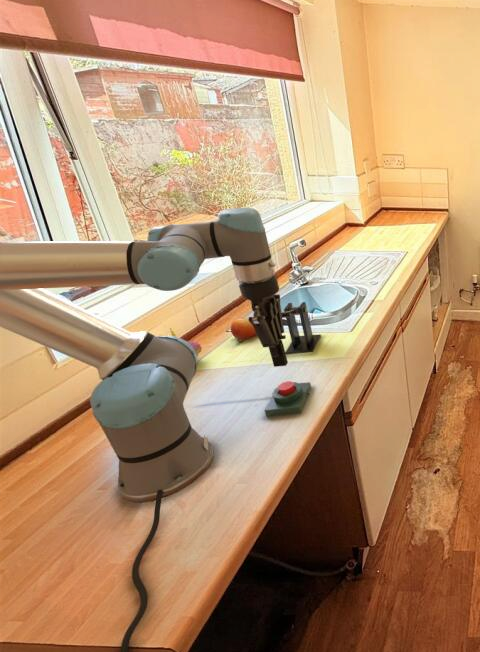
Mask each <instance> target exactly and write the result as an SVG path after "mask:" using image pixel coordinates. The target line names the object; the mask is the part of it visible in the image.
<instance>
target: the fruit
mask: <svg viewBox="0 0 480 652" xmlns="http://www.w3.org/2000/svg"><path fill="white" fill-rule="evenodd" d="M230 333H231V334H232V336H233V337H234V338H235V339H237V340H238V341H240V342H239V343H240V344H242V343H243V341H246V340H250V339H252V338H254V337H255V336H257V333H256V331H255V329H254V327H253V325H252V324H251V323H250V322H249V317H240V318H238V319H235V320H233V321H232V322H231V325H230Z"/></svg>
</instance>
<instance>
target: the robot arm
mask: <svg viewBox="0 0 480 652" xmlns="http://www.w3.org/2000/svg"><path fill="white" fill-rule="evenodd" d="M217 218H218V219H217V220H215V221H206V222H194V223H193V222H192V223H182V224H180V223H179V224H172V223H171V224H167V225H162V226H155V227H152V228H150V230H149V231H148V233H147V235H148V236H147V238H146V240H147V241H146V240H143V241H142V240H140V241H132V240H126V241H125V240H123V241H122V240H120V241H119V240H112V241H111V240H110V241H109V240H108V241H107V240H103V241H102V240H101V241H100V240H97V241H95V240H93V241H91V240H90V241H85V240H83V241H77V240H76V241H0V328H2V329H4V330H6V331H9V332H11V333H14V334H15V335H18V336H20V337H23V338H25V339H27V340H30V341H32V342H35V343H37V344H40V345H42V346H44V347H46V348H48V349H51V350H53V351H56V352H57V353H60V354H62V355H64V356H67V357H70V358H72V359H74V360H77V361H79V362H82V363H83V364H86V365H88V366H90V367H93V368H95V369H96V370H97V374H98V378H99V379H100V382H99V383H98V384H97V385H96V386H95V387H94V388H93V389H92V390H93V391H92V392H91V395H90V399H89V403H90V406H91V410H92V415H93V417H94V419H95V420H96V422H97V423H98V424H99V426H100V428H101V429H102V431H103V434H104V435H105V437H106V439H107V441H108V443H109V444H110V446H111V447H112V450H113V452H114V453H115V455H116V457H117V459H118V477H117V479H118V480H117V489H118V490H119V492H120V494H121V496H122V497H123V498H124V499H125V500H126V501H128V502H131V503H137V504H139V503H141V504H142V503H143V504H144V503H150V502H154V501H155V502H154V503H155V504H154V511H153V522H152V525H151V529H150V531H149V533H148V535H147V537H146V539H145V540H144V543H143V544H142V546H141V548H140V550H138V553H137V554H136V557H135V559H134V561H133V564H132V565H133V566H132V570H131V577H132V582H133V585H134V587H135V588H136V591H137V592H138V596H139V598H140V599H139V600H140V603H139V608H138V610H137V614H135V616H134V618H133V620H132V621H131V623H130V624H129V626H128V628H127V629H126V631H125V633H124V636H123V637H122V641H121V646H120V652H129V649H130V640H131V639H132V635H133V633H134V631H135V629H136V628H137V627H138V624H139V623H140V622H141V620H142V618H143V616H144V615H145V613H146V610H147V606H148V591H147V589H146V587H145V585H144V583H143V581H142V579H141V577H140V566H141V563H142V559H143V557H144V555H145V553H146V551H147V549H148V548H149V546H150V544H151V542H152V541H153V539H154V537H155V535H156V532H157V530H158V527H159V523H160V517H161V506H162V500H163V499H165V498H167V497H170V496H172V495H174V494H177V493H178V492H181V491H183V490H184V489H185V488H187V487H189V486H191V485H192V484H193V483H194V482H196V481H197V480H199V478H201V477H202V476H203V475H204V474H205V473H206V472H207V471H208V469H209V468H210V466H211V464H212V462H213V460H214V455H215V453H214V450H213V447H212V444H211V443H210V441H209V437H207V436H206V435H203V436H201V435H200V434H199V433H198V432H197V431H196V430H195V429H194V428H193V427H192V424H191V422H190V419H189V416H188V415H187V412H186V409H185V407H184V402H185V400H186V399H185V398H186V396H187V394H188V392H189V388H190V386H191V383H192V380H193V379H194V378H195V374H196V373H197V369H198V368H197V367H198V362H197V354H196V352H195V350H194V348H193V347H192V346H191V345H190V344H189V343H188V342H186V341H187V340H185V339H183V338H181V337H178V336H176V337H175V336H173V335H154V334H152V333H151V332H149V331H146V330H145V331H144V330H143V331H138V332H131V331H129V330H127V329H125V328H122V327H121V326H119V325H116V324H115V323H113V322H111V321H109V320H107V319H105V318H102V317H100V316H99V315H96V314H95V313H92V312H91V311H88V310H86V309H84V308H82V307H81V306H78V305H76V304H74V303H73V302H71V301H68V300H66V299H64V298H62V297H61V296H59V295H56V294H54V293H53V292H50V291H48V290H46V289H61V288H62V289H63V288H83V287H84V288H85V287H107V286H130V285H146V286H148V287H150V288H151V289H152V288H153V289H155V290H158V291H163V292H172V291H177V290H180V289H183V288H184V287H186V286H187V285H189V284H190V283H192V281H193V280H194V279H195V278H196V277H197V276H198V274H199V272H200V268H201V266H202V264H203V263H204V262H205V261H206V260H209V259H216V258H225V257H229V258H230V261H231V265H232V268H233V271H234V275H235V278H236V281H238V282H237V285H238V287H239V291H240V294H241V297H242V298H243V299H245V300H248V301H250V303H251V310H252V312H253V314H252V316H248V318H249V322H250V323H251V324H252V325H253V327H254V329H255V331H256V333H257V335H256V336H257V338H258V340H259V342H260V344H261V346H262V348H268V350H269V353H270V357H271V361H272V364H273V367H274V368H277V367H286V366H287V365H288V357H287V354H286V353H285V352H286V351H285V346H284V342H283V340H286V339H287V338H286V337H287V335H286V334H285V328H284V327H285V326H284V320H283V318H282V313H283V312H282V307H281V295H280V294H278V292H279V291H280V285H279V281H278V277H277V275H276V271H275V267H276V263H275V262H273V258H272V254H271V250H270V245H269V241H268V239H267V238H268V237H267V232H266V228H265V227H264V223H263V220H262V217H261V214H260V212H259V211H258V210H257V209H255V208H252V207H235V208H234V207H233V208H228V209H224V210H221V211H220V212H218V213H217ZM283 334H285V335H283ZM101 380H102V381H101Z"/></svg>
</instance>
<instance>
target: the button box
mask: <svg viewBox="0 0 480 652" xmlns="http://www.w3.org/2000/svg"><path fill="white" fill-rule="evenodd" d="M292 382H293V383H294V387H295V391H294V392H292V393H291V394H288V395H280V394H279V390H278V386H279V385H280V384H278V386H277V387H276V388H274V389H273V391H272V393H271V394H272V396H271V398H270V399H269V401H268V403H267V405H266V407H265V409H264V412H265V416H266V418H270V417H279V416H288V415H289V416H290V415H296V414H302V412H303V410H304V408H305V405H306V402H307V401H308V398H309V396H310V391H311V388H312V385H311V382H310V381H309V382H297V381H292Z"/></svg>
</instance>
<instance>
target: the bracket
mask: <svg viewBox="0 0 480 652" xmlns="http://www.w3.org/2000/svg"><path fill="white" fill-rule="evenodd" d="M298 306H299V308H298V310H299V315H298V316H299V319H300V323H301V328H302V331H303V335H300V332H299V328H298V324H297V320H296V315H291V317H285V320H286V324H287V327H288V332H289V335H290V336H289V337H290V341H291V342H290V345H289V346H288V347H287V349H286V351H285V353H286V355H292V354H293V355H294V354H302V353H313V352H314V351H315V349H316V347H317V345H318V342H319V341H320V338H321V336H322V335H321V333H320V334H313V330H312V326H311V320H310V316H309V311H308V308H307V303H306V301H303V302H301V303H300V305H298ZM291 307H294V306H293V303H292V302H288V303H287V304H286V306H285V307H284V308H283V312H286V311H290V308H291Z"/></svg>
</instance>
